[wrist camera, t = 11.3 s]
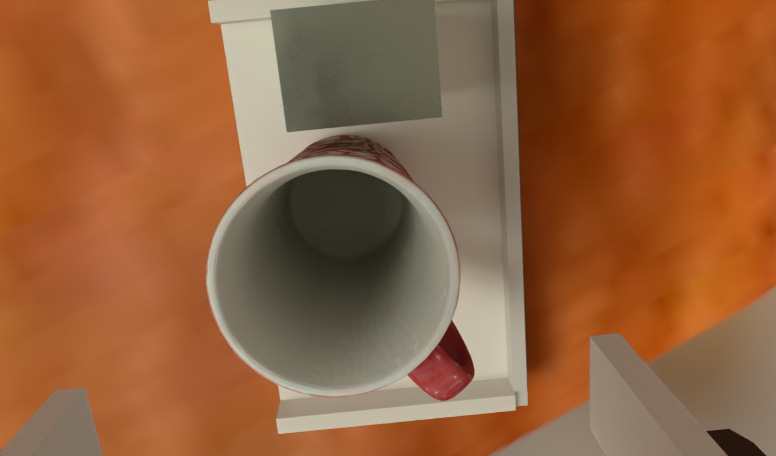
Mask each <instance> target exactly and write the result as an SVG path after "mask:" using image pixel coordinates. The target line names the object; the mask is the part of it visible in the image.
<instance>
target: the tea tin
mask: <svg viewBox="0 0 776 456" xmlns="http://www.w3.org/2000/svg"><path fill="white" fill-rule="evenodd" d="M270 14H271V22H272V29H273V36H274V43H275V51H276V58H277V65H278V73H279V80H280V87H281V94H282V102H283V109H284V116H285V123H286V131H287V132H296V131H306V130H316V129H326V128H337V127H347V126H357V125H367V124H378V123H388V122H398V121H408V120H419V119H429V118H439V117H442V106H441V92H440V77H439V63H438V48H437V33H436V19H435V4H434V0H371V1H360V2H350V3H340V4H329V5H319V6H309V7H298V8H288V9H278V10H270Z"/></svg>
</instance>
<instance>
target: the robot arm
mask: <svg viewBox="0 0 776 456" xmlns="http://www.w3.org/2000/svg"><path fill="white" fill-rule="evenodd" d="M590 429H591V430H592V432H593V434H594V436H595V437H596V439H597V441H598V442H599V444H600V446H601V447H602V449H603V451H604V453H605V454H606V456H766V455H765V454H764V453H763V452H762V451H761V450H760V449H759V448H758V447H757V446H756V445H755V444H754V443H753V442H751V441H749V440H748V439H746V438H744V437H742V436H741V435H739V434H737V433H735V432H734V431H732V430H730V429H724V430H714V431H705V430H704V428H703V427H702V426H701V425H700V424H699V423H698V422H697V421H696V419H695V418H694V417H693V416H692V415H691V414H690V413H689V412H688V410H687V409H686V408H685V407H684V406H683V405H682V404H681V403H680V402H679V400H678V399H677V398H676V397H675V396H674V395H673V394H672V392H671V391H670V390H669V389H668V388H667V387H666V386H665V384H664V383H663V382H662V381H661V380H660V379H659V378H658V377H657V376H656V375H655V373H654V372H653V371H652V370H651V369H650V368H649V366H648V365H647V364H646V363H645V362H644V361H643V360H642V359H641V357H640V356H639V355H638V354H637V353H636V352H635V351H634V350H633V348H632V347H631V346H630V345H629V344H628V343H627V342H626V341H625V339H624V338H623V337H622V336H621V335H620V334H619V333H616V334H606V335H596V336H590ZM0 456H103V454H102V451H101V447H100V443H99V439H98V435H97V431H96V428H95V424H94V420H93V416H92V412H91V408H90V405H89V401H88V397H87V393H86V389H85V387H84V388H74V389H64V390H55V391H54V392H53V394H52V395H51V396H50V397H49V398H48V399H47V400H46V401H45V402H44V404H43V405H42V406H41V407H40V408H39V409H38V410H37V411H36V412H35V414H34V415H33V416H32V417H31V418H30V419H29V420H28V421H27V423H26V424H25V425H24V426H23V427H22V428H21V429H20V430H19V431H18V433H17V434H16V435H15V436H14V437H13V438H12V439H11V440H10V441H9V443H8V444H7V445H6V446H5V447H4V448H3V449H2V450H1V451H0Z"/></svg>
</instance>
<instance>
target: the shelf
mask: <svg viewBox="0 0 776 456" xmlns="http://www.w3.org/2000/svg"><path fill="white" fill-rule="evenodd" d="M360 1H371V0H214V1H208V5H209V11H210V18H211V23H215V24H220V25H221V29H222V36H223V42H224V48H225V54H226V61H227V67H228V73H229V80H230V86H231V92H232V98H233V105H234V111H235V117H236V124H237V130H238V136H239V142H240V149H241V155H242V161H243V168H244V174H245V180H246V186H248V185H250V184H251V183H252V182H253V181H255V180H256V179H257V178H259V177H261V176H262V175H264V174H265V173H267V172H269V171H271V170H273V169H275V168H277V167H278V166H281V165H283V164H286V163H287V162H288V161H290V160H291V159H292V158H293V157H295V156H296V155H298V154H299V153H300V152H301V151H303V150H304V149H305V148H306V147H308V146H309V145H311V144H313V143H314V142H317V141H319V140H321V139H324V138H328V137H332V136H337V135H354V136H360V137H364V138H368V139H370V140H372V141H374V142H377V143H379V144H380V145H382V146H384V147H385V148H386V149H388V150H389V151H390V152H391V153H392V154H393V155H394V156H395V157H396V158H397V159H398V160H399V161H400V163H401V164H402V166H403V167H404V168H405V170H406V171H407V173H408V174H409V175H410V176H411V178H412V180H413V181H414V182H415V183H416V184H417V185H418V186H420V187H421V188H422V189H423V190H424V191H425V192H426V193H427V194H428V195H429V196H430V197H431V198H432V200H433V201H434V202H435V203H436V204H437V206H438V207H439V209H440V210H441V212H442V213H443V215H444V217H445V218H446V220H447V222H448V224H449V226H450V228H451V231H452V233H453V236H454V238H455V241H456V245H457V248H458V255H459V261H460V273H461V275H460V291H459V298H458V303H457V307H456V309H455V312H454V316H453V318H452V321H453V323H454V324H455V326H456V327H457V329H458V331H459V333H460V335H461V337H462V339H463V340H464V343H465V344H466V346H467V349H468V351H469V353H470V355H471V358H472V361H473V365H474V370H475V375H474V378H473V380H472V381H471V382H470V383H469V384H468V385H467V386H466V388H465V389H463V390H462V391H461V392H460V393H459V394H458V395H456V396H455V397H454V398H452V399H449V400H447V401H440V400H437V399H435V398H433V397H431V396H429V395H428V394H427V393H426V392H424V391H423V390H422V389H421V388H420V387H419V386H418V385H417V384H415V383H414V382H413V380H412V379H411V378H410V377H409V376H408V375H406V376H404V377H403V378H401V379H399V380H398V381H396V382H394V383H392V384H390V385H388V386H385V387H383V388H381V389H378V390H375V391H372V392H369V393H365V394H361V395H356V396H349V397H318V396H310V395H307V394H302V393H298V392H295V391H291V390H289V389H286V388H284V387H281V386H279V385H278V387H279V394H280V400H281V401H280V405H279V409H278V413H277V417H276V422H277V429H278V434H282V433H292V432H302V431H312V430H322V429H332V428H342V427H352V426H362V425H372V424H382V423H393V422H403V421H413V420H423V419H433V418H443V417H453V416H463V415H473V414H483V413H493V412H503V411H513V410H516V406H524V405H528V400H527V391H528V381H527V353H526V324H525V296H524V268H523V239H522V211H521V182H520V154H519V126H518V97H517V69H516V40H515V12H514V0H434V4H435V19H436V33H437V48H438V63H439V77H440V92H441V106H442V117H439V118H429V119H419V120H408V121H398V122H388V123H378V124H367V125H357V126H347V127H337V128H326V129H316V130H306V131H296V132H287V131H286V123H285V116H284V109H283V102H282V94H281V87H280V80H279V73H278V65H277V58H276V51H275V43H274V36H273V29H272V22H271V14H270V10H278V9H288V8H298V7H309V6H319V5H329V4H340V3H350V2H360Z"/></svg>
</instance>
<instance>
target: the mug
mask: <svg viewBox="0 0 776 456" xmlns="http://www.w3.org/2000/svg"><path fill="white" fill-rule="evenodd" d="M460 275H461V273H460V261H459V255H458V248H457V245H456V241H455V238H454V236H453V233H452V231H451V228H450V226H449V224H448V222H447V220H446V218H445V217H444V215H443V213H442V212H441V210H440V209H439V207H438V206H437V204H436V203H435V202H434V201H433V200H432V198H431V197H430V196H429V195H428V194H427V193H426V192H425V191H424V190H423V189H422V188H421V187H420V186H418V185H417V184H416V183H415V182H414V181H413V180H412V178H411V176H410V175H409V174H408V173H407V171H406V170H405V168H404V167H403V166H402V164H401V163H400V161H399V160H398V159H397V158H396V157H395V156H394V155H393V154H392V153H391V152H390V151H389V150H388V149H386V148H385V147H384V146H382V145H380V144H379V143H377V142H374V141H372V140H370V139H368V138H364V137H360V136H354V135H337V136H332V137H328V138H324V139H321V140H319V141H317V142H314V143H313V144H311V145H309V146H308V147H306V148H305V149H304V150H303V151H301V152H300V153H299V154H298V155H296V156H295V157H293V158H292V159H291V160H290V161H288V162H287V163H286V164H283V165H281V166H278V167H277V168H275V169H273V170H271V171H269V172H267V173H265V174H264V175H262V176H261V177H259V178H257V179H256V180H255V181H253V182H252V183H251V184H250V185H248V186H247V187H246V188H245V189H244V190H243V191H242V192H241V193H240V194H239V195H238V196H237V197H236V199H235V200H234V201H233V202H232V203H231V204H230V206H229V207H228V208H227V210H226V211H225V213H224V215H223V216H222V218H221V220H220V222H219V223H218V225H217V228H216V230H215V232H214V235H213V237H212V240H211V243H210V247H209V251H208V257H207V262H206V272H205V276H206V288H207V295H208V300H209V305H210V308H211V311H212V315H213V317H214V320H215V322H216V324H217V326H218V328H219V330H220V332H221V334H222V336H223V337H224V339H225V340H226V342H227V343H228V344H229V346H230V347H231V349H232V350H233V351H234V352H235V353H236V355H237V356H238V357H239V358H240V359H241V360H242V361H243V362H245V363H246V364H247V365H248V366H249V367H250V368H251V369H253V370H254V371H255V372H257V373H258V374H259V375H261V376H262V377H264V378H266V379H268V380H269V381H271V382H273V383H275V384H277V385H279V386H281V387H284V388H286V389H289V390H291V391H295V392H298V393H302V394H307V395H310V396H318V397H349V396H356V395H361V394H365V393H369V392H372V391H375V390H378V389H381V388H383V387H385V386H388V385H390V384H392V383H394V382H396V381H398V380H399V379H401V378H403V377H404V376H406V375H408V376H409V377H410V378H411V379H412V380H413V382H414V383H415V384H417V385H418V386H419V387H420V388H421V389H422V390H423V391H424V392H426V393H427V394H428V395H429V396H431V397H433V398H435V399H437V400H440V401H447V400H449V399H452V398H454V397H455V396H456V395H458V394H459V393H460V392H461V391H462V390H463V389H465V388H466V386H467V385H468V384H469V383H470V382H471V381H472V380H473V378H474V375H475V370H474V365H473V361H472V358H471V355H470V353H469V351H468V349H467V346H466V344H465V343H464V340H463V339H462V337H461V335H460V333H459V331H458V329H457V327H456V326H455V324H454V323H453V321H452V318H453V316H454V312H455V309H456V307H457V303H458V298H459V291H460Z"/></svg>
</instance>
